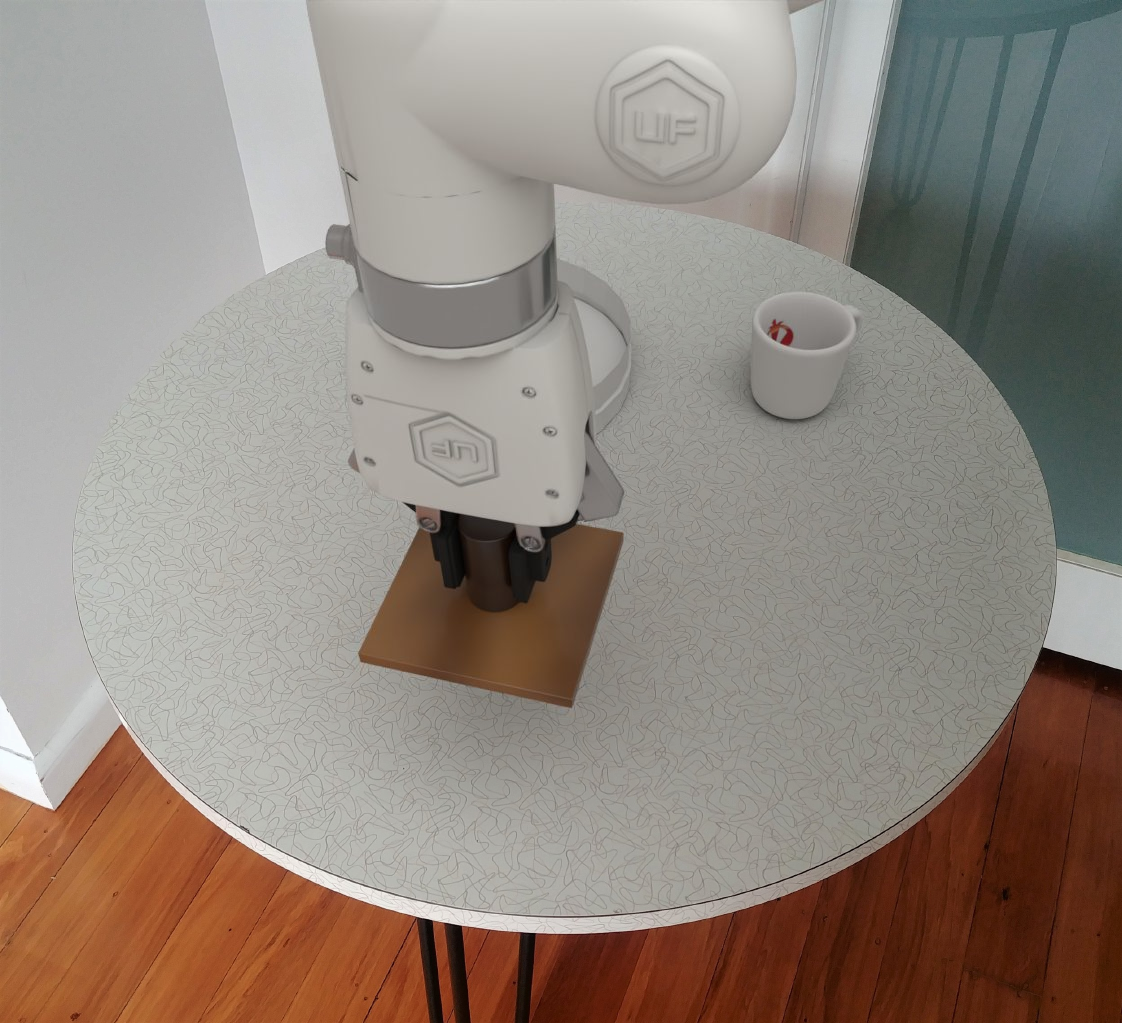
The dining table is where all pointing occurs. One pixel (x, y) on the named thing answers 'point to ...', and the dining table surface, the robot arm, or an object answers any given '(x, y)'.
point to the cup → (800, 351)
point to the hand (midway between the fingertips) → (494, 572)
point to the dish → (602, 338)
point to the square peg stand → (497, 613)
